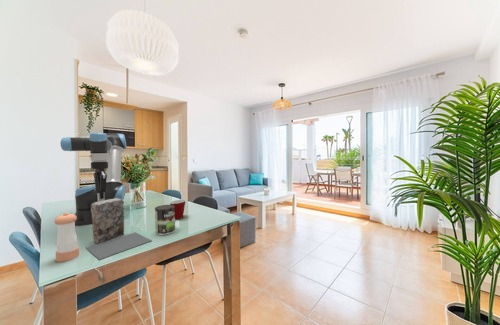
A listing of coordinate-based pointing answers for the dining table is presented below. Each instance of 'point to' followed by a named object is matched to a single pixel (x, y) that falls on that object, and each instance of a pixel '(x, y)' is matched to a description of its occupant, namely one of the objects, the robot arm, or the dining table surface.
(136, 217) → the dining table surface
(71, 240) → the salt shaker
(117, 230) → the stone block
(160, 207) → the coffee can
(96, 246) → the mat
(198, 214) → the dining table surface
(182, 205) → the plastic cup
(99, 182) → the robot arm
